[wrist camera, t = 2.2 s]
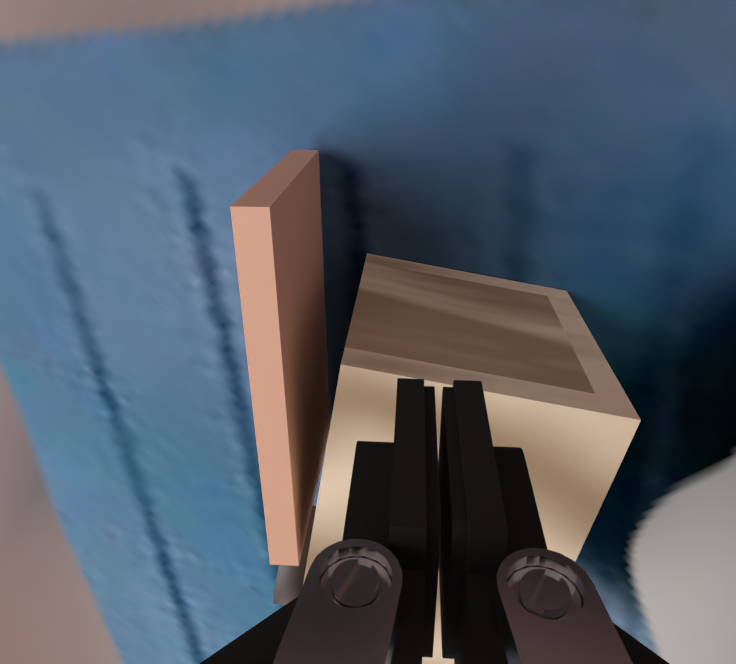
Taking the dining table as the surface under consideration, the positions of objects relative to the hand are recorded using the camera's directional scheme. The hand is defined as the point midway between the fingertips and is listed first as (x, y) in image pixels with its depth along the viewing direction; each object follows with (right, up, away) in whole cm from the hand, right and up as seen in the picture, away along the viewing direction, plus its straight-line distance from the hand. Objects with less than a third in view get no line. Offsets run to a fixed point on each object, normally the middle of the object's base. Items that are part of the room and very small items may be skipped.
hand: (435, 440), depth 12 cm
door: (-5, +4, +18) cm, 19 cm away
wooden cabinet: (+2, -4, +22) cm, 22 cm away
